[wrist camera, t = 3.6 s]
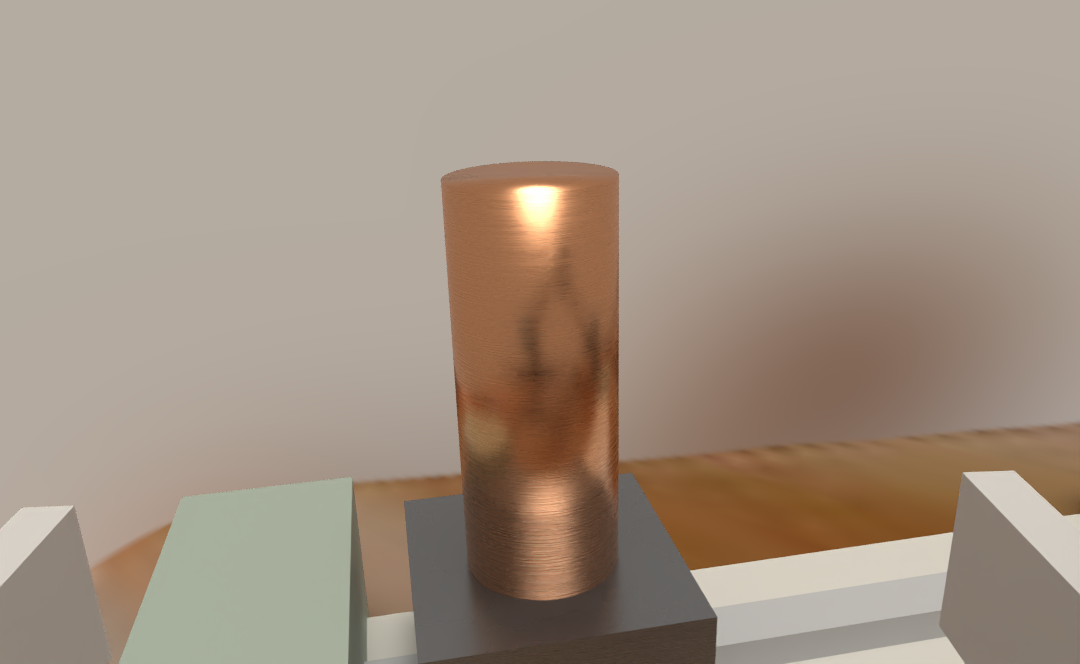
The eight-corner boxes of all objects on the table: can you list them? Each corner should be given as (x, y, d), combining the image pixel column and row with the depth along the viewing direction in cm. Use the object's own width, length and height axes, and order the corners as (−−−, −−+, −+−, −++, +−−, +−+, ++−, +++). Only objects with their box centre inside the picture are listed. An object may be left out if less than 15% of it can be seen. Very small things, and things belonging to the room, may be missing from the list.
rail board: (1189, 496, 34) (1222, 368, 32) (1510, 681, 25) (1584, 515, 23) (213, 638, 28) (184, 490, 26) (136, 959, 19) (81, 761, 17)
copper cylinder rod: (631, 555, 28) (634, 145, 23) (712, 717, 21) (737, 194, 17) (412, 586, 27) (370, 161, 22) (428, 767, 20) (374, 219, 16)
